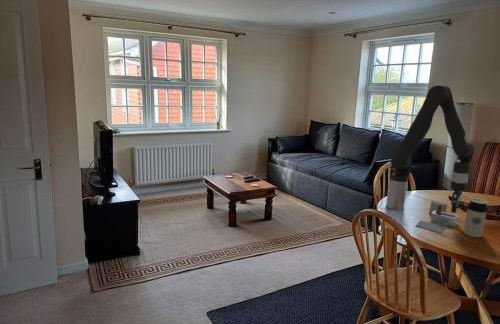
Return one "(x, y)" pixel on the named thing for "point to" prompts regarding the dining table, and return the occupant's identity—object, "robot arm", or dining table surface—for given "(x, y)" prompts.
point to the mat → (430, 226)
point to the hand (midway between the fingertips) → (454, 210)
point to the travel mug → (475, 217)
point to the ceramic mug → (435, 205)
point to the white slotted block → (444, 218)
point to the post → (439, 209)
